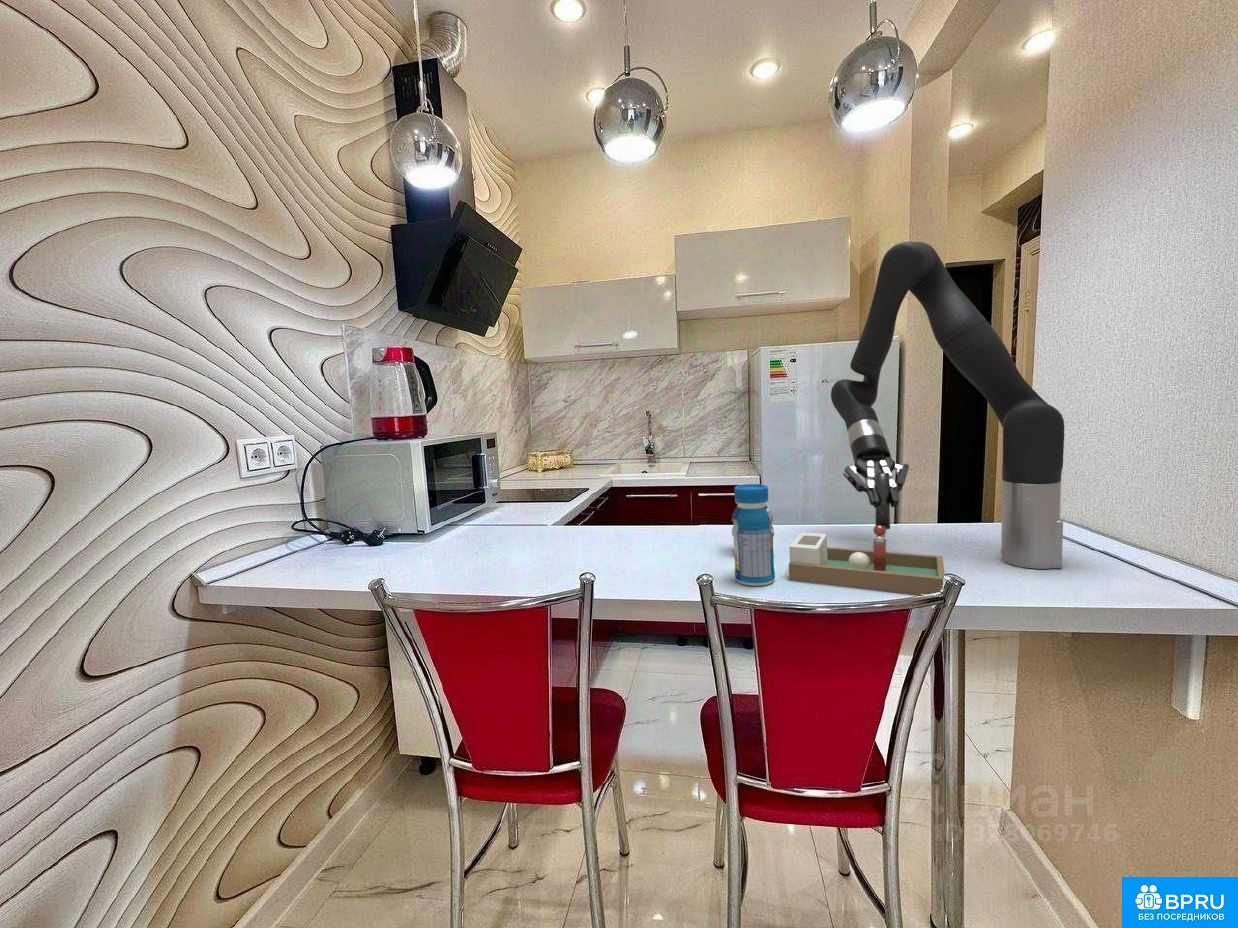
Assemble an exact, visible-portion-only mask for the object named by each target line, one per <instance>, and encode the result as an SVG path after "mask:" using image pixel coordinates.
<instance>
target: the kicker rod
mask: <svg viewBox="0 0 1238 928" xmlns="http://www.w3.org/2000/svg"><path fill="white" fill-rule="evenodd" d="M874 488H876V491H877V495H878V498H879V506H878V507H877V508H874V509H875V510H874V511H875V513H874V514H875V520H874V521H875V526H874V527H873V533H874V534H875V538H874V539H873V551H874V570H877V571H886V552H887V549H886V548H887V545H886V544H887V541H886V540H887V539H886V534H887V530H889V529H891V505H890V473H886V472H878V473H875V481H874Z"/></svg>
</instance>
